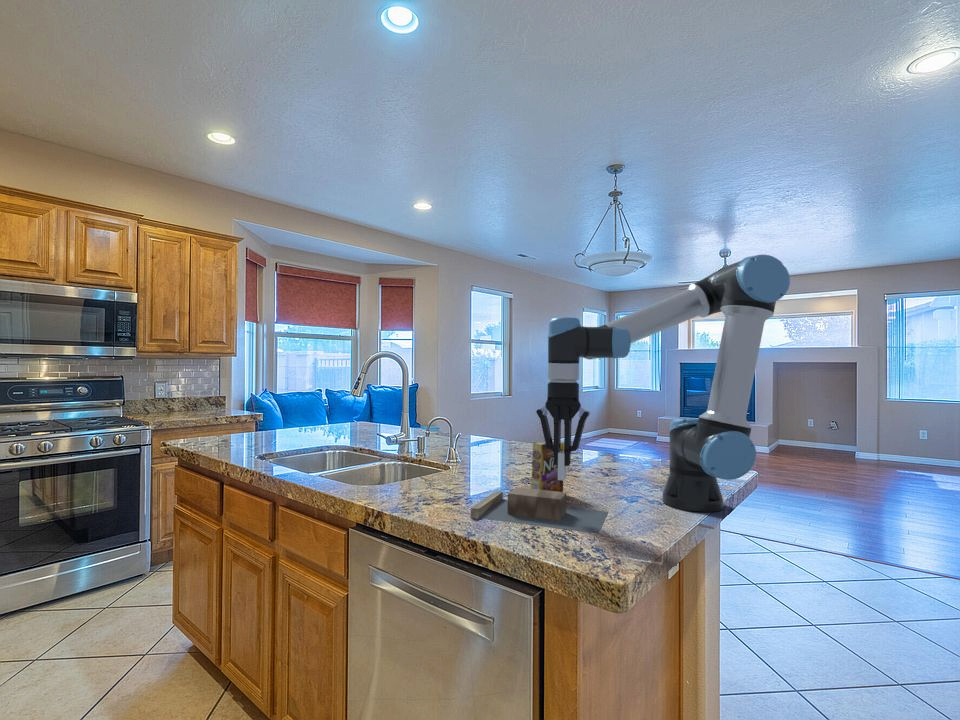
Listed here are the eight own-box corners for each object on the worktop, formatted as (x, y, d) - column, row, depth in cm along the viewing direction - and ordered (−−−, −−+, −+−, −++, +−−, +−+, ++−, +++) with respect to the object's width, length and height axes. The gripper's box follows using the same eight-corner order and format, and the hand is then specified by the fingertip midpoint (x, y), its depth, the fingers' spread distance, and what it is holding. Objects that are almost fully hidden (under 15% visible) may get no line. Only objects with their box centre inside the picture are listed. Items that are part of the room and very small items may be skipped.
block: (566, 492, 121) (516, 487, 126) (560, 499, 115) (507, 493, 120) (566, 512, 121) (515, 506, 126) (560, 520, 115) (507, 513, 120)
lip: (502, 500, 133) (502, 491, 133) (478, 519, 116) (478, 509, 116) (495, 499, 134) (495, 490, 134) (470, 518, 117) (470, 507, 117)
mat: (608, 513, 123) (608, 511, 123) (598, 535, 106) (598, 533, 106) (502, 500, 133) (502, 498, 133) (478, 519, 116) (478, 517, 116)
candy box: (540, 499, 135) (541, 444, 135) (530, 496, 138) (531, 442, 138) (564, 495, 139) (565, 441, 140) (554, 492, 143) (554, 439, 143)
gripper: (592, 381, 120) (591, 478, 120) (540, 380, 125) (539, 473, 124) (587, 382, 113) (586, 485, 113) (533, 381, 118) (531, 479, 117)
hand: (561, 479), depth 118 cm, fingers closed
